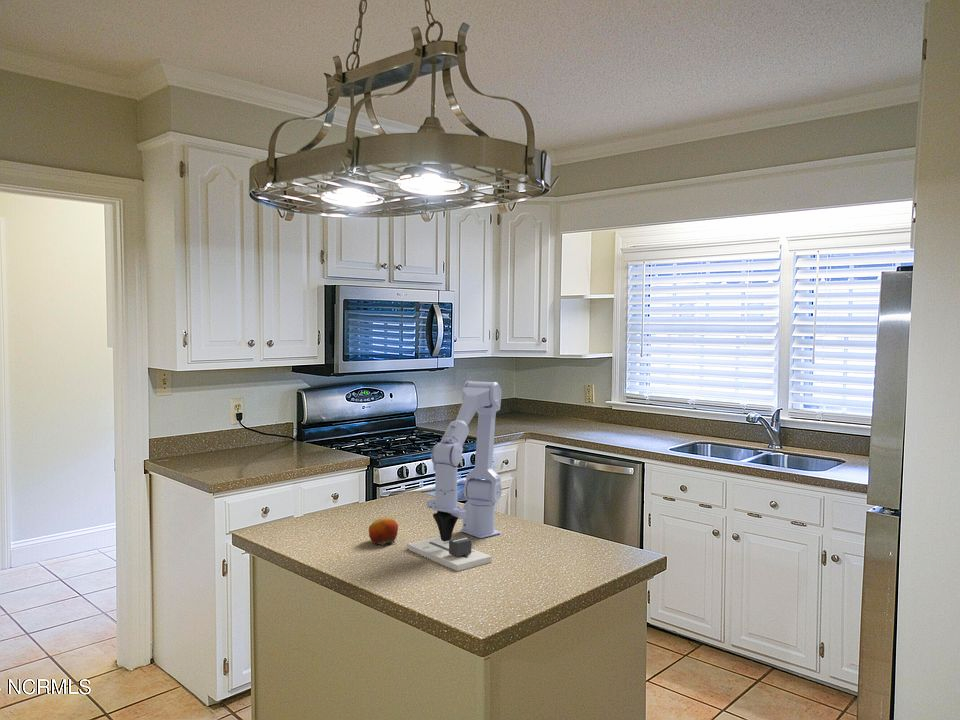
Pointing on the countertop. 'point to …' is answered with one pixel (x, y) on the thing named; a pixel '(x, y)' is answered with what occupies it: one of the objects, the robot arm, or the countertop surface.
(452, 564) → the fader console
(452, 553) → the fader knob
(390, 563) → the countertop surface
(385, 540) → the fruit
